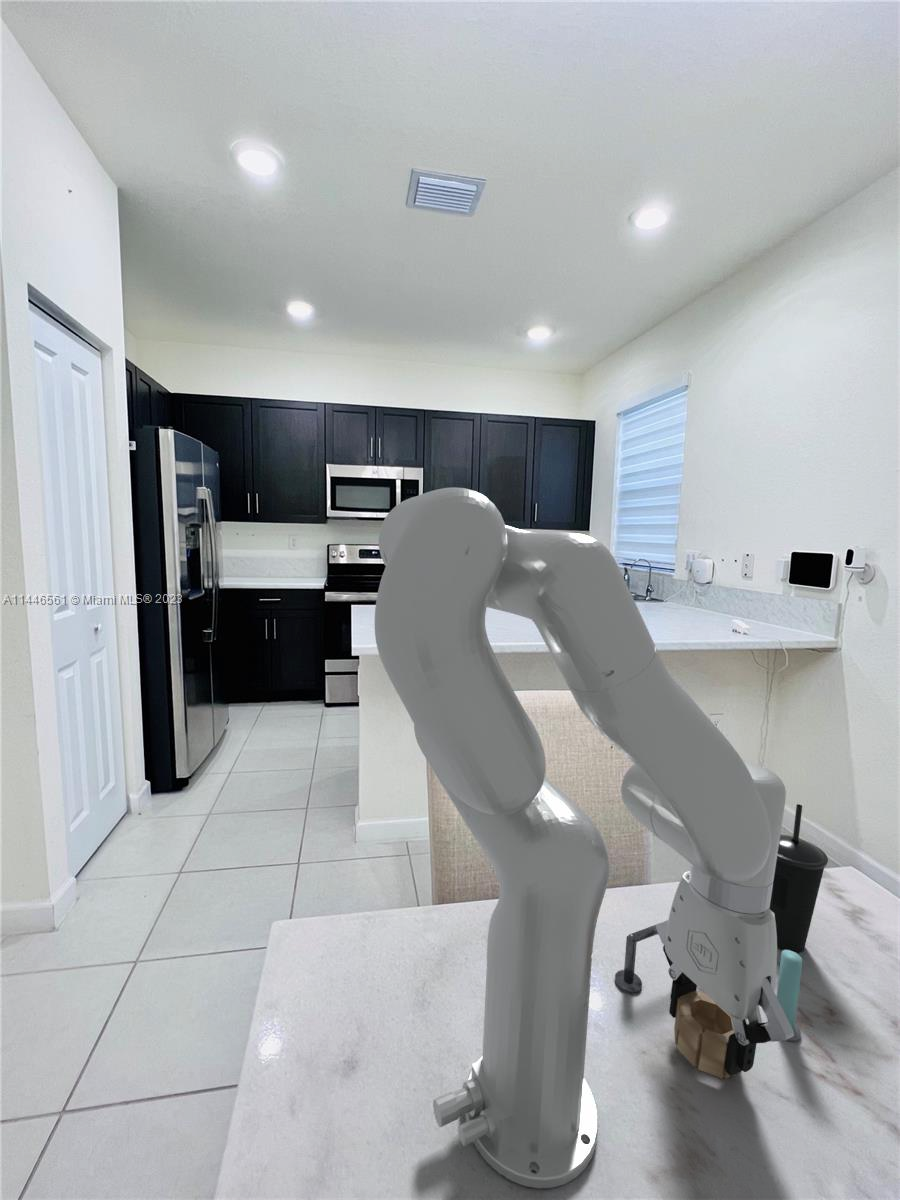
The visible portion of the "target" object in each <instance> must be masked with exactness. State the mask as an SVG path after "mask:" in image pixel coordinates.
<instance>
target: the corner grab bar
mask: <svg viewBox="0 0 900 1200" xmlns="http://www.w3.org/2000/svg"><path fill="white" fill-rule="evenodd" d="M666 921H668V920H665V921H663V922H666ZM657 924H658V923H656V924H654V925H651V926H648V927H646V928H643V929H640V930H637V931H634V932H632V933H629V934H628V935H627V936H626V941H625V952H624V954H625V955H624V956H625V957H624V964H623V965H624V967H623V969H621V970H618V971H617V972H616V973H615V975H614V982H615V985H616V986H617V988H618V989H620V991H621V990H622V991H623V992H625V993H626V994H631V995H634V994H638V993H640V992H641V991H642V989H643V981H642V980H641V978H640V976H638V974H637V973H636V972H635V969H636V968H635V966H636V955H637V943H638V942H641V941H644V940H646V939H648V938H651V937H654V936H657V935H659V934H658V932H657V929H656V925H657Z"/></svg>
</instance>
